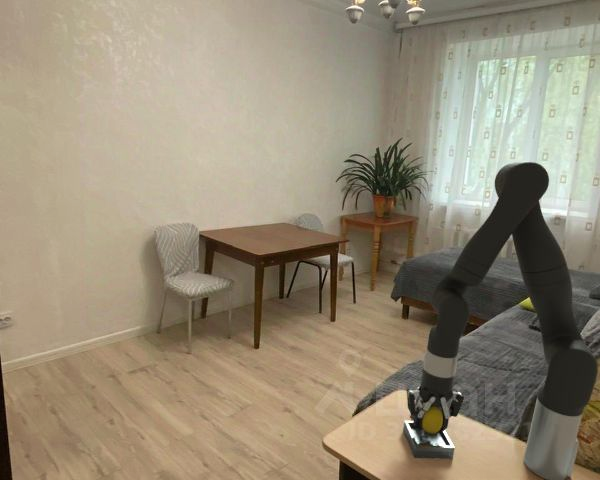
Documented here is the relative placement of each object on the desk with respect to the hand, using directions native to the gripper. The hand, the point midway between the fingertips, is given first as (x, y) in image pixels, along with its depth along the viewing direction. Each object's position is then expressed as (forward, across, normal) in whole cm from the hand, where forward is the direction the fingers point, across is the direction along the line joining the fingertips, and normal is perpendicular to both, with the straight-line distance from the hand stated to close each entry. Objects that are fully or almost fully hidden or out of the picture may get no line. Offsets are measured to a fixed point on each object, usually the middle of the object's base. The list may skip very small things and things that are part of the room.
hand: (429, 428), depth 106 cm
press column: (+5, -3, -8) cm, 10 cm away
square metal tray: (+5, 0, 0) cm, 5 cm away
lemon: (+2, 0, 0) cm, 2 cm away
